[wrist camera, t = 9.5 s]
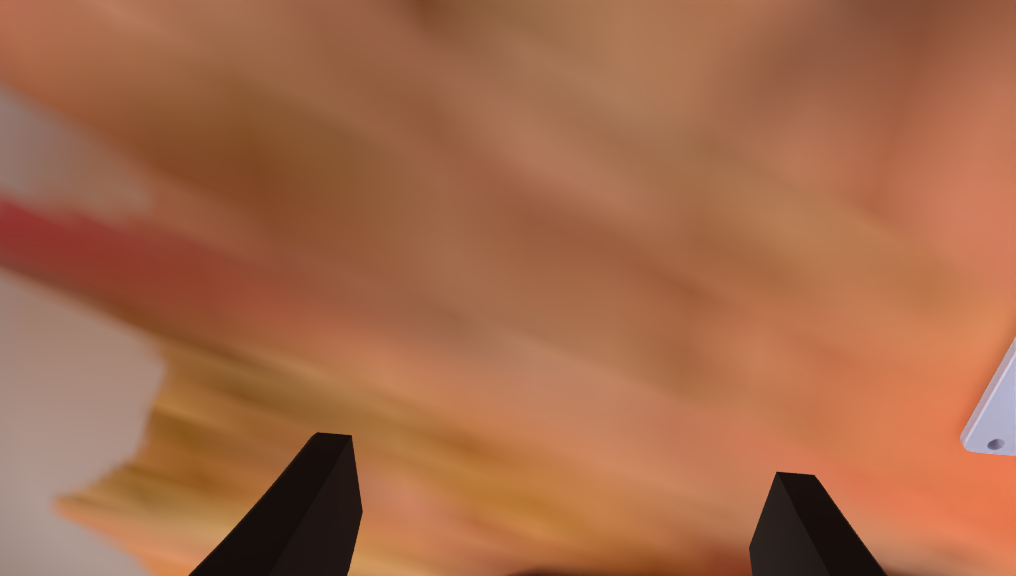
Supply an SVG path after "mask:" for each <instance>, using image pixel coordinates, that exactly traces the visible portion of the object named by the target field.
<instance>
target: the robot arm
mask: <svg viewBox="0 0 1016 576" xmlns="http://www.w3.org/2000/svg"><path fill="white" fill-rule="evenodd" d="M994 439H995V440H994ZM960 440H961V442H962V444H963V446H964V447H965V449H967V450H968V451H971V452H976V453H988V454H1000V455H1012V456H1016V337H1015V338H1014V340H1013V342H1012V344H1011V346H1010V347H1009V349H1008V351H1007V353H1006V354H1005V356H1004V358H1003V360H1002V362H1001V363H1000V365H999V367H998V369H997V371H996V372H995V374H994V376H993V378H992V380H991V381H990V383H989V385H988V387H987V388H986V390H985V392H984V394H983V396H982V397H981V399H980V401H979V403H978V405H977V406H976V408H975V410H974V412H973V414H972V415H971V417H970V419H969V421H968V422H967V424H966V426H965V428H964V430H963V431H962V433H961V436H960ZM992 440H993V441H992ZM362 512H363V511H362V504H361V497H360V490H359V483H358V476H357V469H356V462H355V456H354V449H353V442H352V435H342V434H331V433H319V432H317V433H316V434H314V435H313V436H312V437H311V438H310V439H309V440H308V442H307V443H306V444H305V445H304V447H303V448H302V449H301V451H300V452H299V453H298V454H297V455H296V457H295V458H294V459H293V460H292V462H291V463H290V464H289V465H288V467H287V468H286V469H285V470H284V471H283V473H282V474H281V475H280V476H279V477H278V479H277V480H276V481H275V482H274V483H273V485H272V486H271V487H270V488H269V489H268V490H267V492H266V493H265V494H264V495H263V496H262V497H261V499H260V500H259V501H258V502H257V503H256V504H255V505H254V506H253V508H252V509H251V510H250V511H249V512H248V513H247V514H246V515H245V517H244V518H243V519H242V520H241V521H240V522H239V523H238V524H237V525H236V527H235V528H234V529H233V530H232V531H231V532H230V533H229V534H228V535H227V536H226V538H225V539H224V540H223V541H222V542H221V543H220V544H219V545H218V546H217V547H216V548H215V549H214V550H213V551H212V552H211V553H210V554H209V555H208V556H207V557H206V558H205V559H204V560H203V561H202V562H201V563H200V564H199V565H198V566H197V567H196V568H195V569H194V570H193V571H192V572H191V573H190V575H189V576H347V574H348V571H349V568H350V563H351V559H352V555H353V551H354V547H355V543H356V539H357V534H358V530H359V526H360V521H361V517H362ZM749 550H750V558H751V567H752V575H753V576H887V574H886V573H885V572H884V570H883V569H882V568H881V566H880V565H879V564H878V562H877V561H876V560H875V558H874V557H873V556H872V554H871V553H870V552H869V550H868V549H867V548H866V546H865V545H864V543H863V542H862V541H861V539H860V538H859V536H858V535H857V534H856V532H855V531H854V530H853V528H852V527H851V525H850V524H849V523H848V521H847V520H846V518H845V517H844V516H843V514H842V513H841V511H840V510H839V508H838V507H837V506H836V504H835V503H834V501H833V500H832V498H831V497H830V496H829V494H828V493H827V491H826V490H825V489H824V487H823V486H822V484H821V483H820V481H819V480H818V479H817V478H816V477H815V475H809V474H797V473H785V472H776V475H775V478H774V480H773V483H772V486H771V489H770V491H769V494H768V497H767V500H766V502H765V505H764V508H763V511H762V513H761V516H760V519H759V522H758V524H757V527H756V530H755V533H754V536H753V538H752V541H751V544H750V547H749Z"/></svg>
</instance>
